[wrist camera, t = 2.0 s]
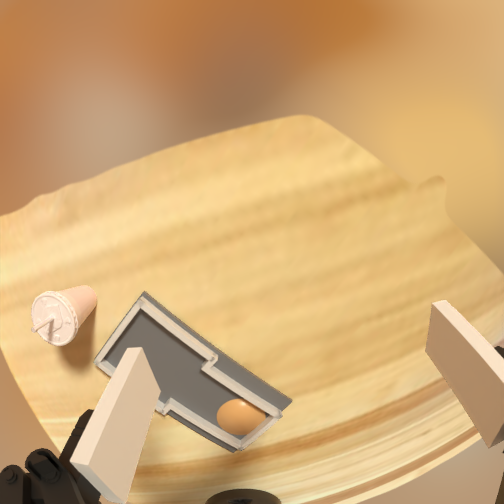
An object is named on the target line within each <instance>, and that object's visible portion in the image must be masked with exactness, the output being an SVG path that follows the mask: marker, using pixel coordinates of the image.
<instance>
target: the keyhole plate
mask: <svg viewBox="0 0 504 504" xmlns="http://www.w3.org/2000/svg"><path fill="white" fill-rule="evenodd" d="M136 347H142V348H143V351H144V353H145V356H146V358H147V361H148V363H149V365H150V368H151V370H152V372H153V375H154V377H155V379H156V382H157V384H158V386H159V388H160V391H161V392H160V395H159V398H158V401H157V404H156V407H155V410H157V411H158V412H160V413H161V414H163V415H165V414H166V413H167V414H169V415H170V416H172V417H173V418H175V419H176V420H178V421H179V422H181V423H183V424H184V425H186V426H187V427H189V428H191V429H192V430H194V431H196V432H197V433H199V434H201V435H202V436H204V437H206V438H208V439H209V440H211V441H213V442H215V443H216V444H218V445H220V446H222V447H224V448H226V449H227V450H229V451H231V452H233V453H234V452H235V451H236V450H237V449H238V450H240V451H242V450H244V449H245V448H246V447H247V446H249V445H250V444H251V443H252V442H253V441H255V440H256V439H257V438H258V437H259V436H261V435H262V434H263V433H264V432H265V431H266V430H268V429H269V428H270V427H271V426H272V425H273V424H275V423H276V422H277V421H278V420H279V419H280V418H281V417H282V411H283V410H284V409H285V408H286V407H287V406H288V405H289V404H290V403H291V402H292V399H290V398H289V397H287V396H286V395H284V394H283V393H281V392H279V391H278V390H276V389H275V388H273V387H272V386H270V385H269V384H267V383H266V382H264V381H263V380H261V379H260V378H258V377H257V376H256V375H254V374H253V373H251V372H250V371H248V370H247V369H245V368H244V367H243V366H241V365H240V364H238V363H237V362H236V361H234V360H233V359H231V358H230V357H229V356H227V355H226V354H224V353H223V352H222V351H220V350H219V349H218V348H216V347H215V346H214V345H212V344H211V343H209V342H208V341H207V340H205V339H204V338H203V337H201V336H200V335H199V334H198V333H196V332H195V331H194V330H192V329H191V328H190V327H188V326H187V325H186V324H185V323H183V322H182V321H181V320H180V319H178V318H177V317H176V316H174V315H173V314H172V313H171V312H169V311H168V310H167V309H166V308H165V307H163V306H162V305H161V304H160V303H158V302H157V301H156V300H155V299H154V298H152V297H151V296H150V295H149V294H148V293H146V292H145V291H144V292H143V293H142V294H141V296H140V297H139V298H138V300H137V301H136V302H135V304H134V305H133V306H132V308H131V309H130V310H129V312H128V313H127V314H126V316H125V317H124V318H123V320H122V321H121V323H120V324H119V325H118V327H117V328H116V329H115V331H114V332H113V334H112V335H111V336H110V338H109V339H108V340H107V342H106V343H105V345H104V346H103V348H102V349H101V350H100V352H99V353H98V355H97V356H96V357H95V360H94V362H93V363H94V364H95V365H97V366H98V367H99V368H100V369H102V370H103V371H104V372H105V373H106V374H108V375H109V376H110V377H112V375H113V373H114V372H115V370H116V368H117V366H118V364H119V362H120V360H121V359H122V357H123V355H124V353H125V351H126V350H127V348H136Z"/></svg>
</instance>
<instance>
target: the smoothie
mask: <svg viewBox="0 0 504 504" xmlns="http://www.w3.org/2000/svg"><path fill="white" fill-rule="evenodd" d="M96 304H97V296H96V293H95V292H94V290H93V289H92V288H91V287H89V286H86V285H82V286H78V287H74V288H70V289H66V290H62V291H57V292H54V291H47V292H44V293H42V294H41V295H39V296H38V297H37V298H36V299H35V300H34V302H33V305H32V309H31V316H32V321H33V324H34V327H32V328H31V330H32V332H33V333H35V332H36V331H37V332H38V334H39V335H40V336H41V337H42V338H43V339H44V340H45V341H46V342H48V343H50V344H52V345H55V346H63V345H66V344H68V343H69V342H71V341H72V340H73V339H74V338H75V336H76V334H77V331H78V328H79V327H80V326H81V324H82V323H83V322H84V321H85V319H86V318H87V317H88V316H89V314H90V313H91V312H92V310H93V309H94V308H95V307H96Z"/></svg>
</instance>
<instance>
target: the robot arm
mask: <svg viewBox="0 0 504 504" xmlns="http://www.w3.org/2000/svg"><path fill="white" fill-rule="evenodd" d="M425 352H426V353H427V354H428V356H429V357H430V359H431V360H432V361H433V363H434V364H435V366H436V367H437V369H438V370H439V371H440V373H441V374H442V376H443V377H444V379H445V380H446V382H447V383H448V385H449V386H450V388H451V389H452V391H453V392H454V394H455V395H456V397H457V398H458V400H459V401H460V403H461V404H462V406H463V408H464V409H465V411H466V412H467V414H468V415H469V417H470V419H471V420H472V422H473V423H474V425H475V427H476V428H477V430H478V431H479V433H480V435H481V436H482V438H483V440H484V441H485V443H486V445H487V446H488V448H490V447H492V446H494V445H496V444H498V443H500V442H501V441H503V440H504V348H502V347H500V346H497V347H495V348H493V347H492V346H491V345H490V344H489V343H488V342H487V341H486V339H485V338H484V337H483V336H482V335H481V334H480V333H479V332H478V331H477V330H476V329H475V328H474V327H473V326H472V325H471V324H470V323H469V322H468V321H467V320H466V319H465V318H464V317H463V316H462V315H461V314H460V313H459V312H458V311H457V310H456V309H455V308H454V307H453V306H451V305H450V304H449V303H448V302H447V301H446V300H442V301H438V302H434V303H432V308H431V316H430V324H429V331H428V337H427V343H426V349H425ZM160 392H161V391H160V388H159V386H158V384H157V382H156V379H155V377H154V375H153V372H152V370H151V368H150V365H149V363H148V361H147V358H146V356H145V353H144V351H143V348H142V347H136V348H127V350H126V351H125V353H124V355H123V357H122V359H121V360H120V362H119V364H118V366H117V368H116V370H115V372H114V373H113V375H112V377H111V379H110V381H109V383H108V385H107V387H106V389H105V390H104V392H103V394H102V396H101V398H100V400H99V402H98V404H97V406H96V408H95V410H90V409H88V410H87V411H86V412H85V413H84V414H83V415H82V416H81V417H80V418H79V420H78V422H77V424H76V425H75V429H73V431H72V433H71V436H70V437H69V439H68V441H67V443H66V445H65V447H64V449H63V451H62V453H61V455H60V457H59V459H58V458H57V457H56V456H55V455H54V454H53V453H52V452H51V451H50V450H48V449H44V448H41V449H37V450H35V451H33V452H31V454H30V455H29V456H28V457H27V459H26V461H25V468H26V469H27V470H28V471H29V472H30V473H25V472H24V471H23V470H22V469H21V468H20V467H19V466H17V465H9V466H7V467H6V468H4V469H3V470H2V472H1V473H0V504H101V502H100V501H99V498H100V495H102V496H104V497H105V498H106V499H107V500H108V501H110V502H115V503H121V504H126V502H127V498H128V495H129V491H130V488H131V485H132V481H133V478H134V474H135V471H136V468H137V464H138V461H139V458H140V455H141V451H142V448H143V445H144V442H145V438H146V435H147V432H148V429H149V426H150V423H151V420H152V417H153V413H154V410H155V407H156V404H157V401H158V398H159V395H160ZM503 453H504V451H503ZM206 504H281V501H280V500H279V499H278V498H277V497H276V496H274V495H272V494H270V493H268V492H265V491H260V490H254V489H236V490H229V491H225V492H221V493H219V494H216V495H214V496H212V497H211V498H210V499H209V500H208V501H207V502H206ZM495 504H504V473H503V477H502V481H501V485H500V488H499V492H498V495H497V499H496V502H495Z"/></svg>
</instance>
